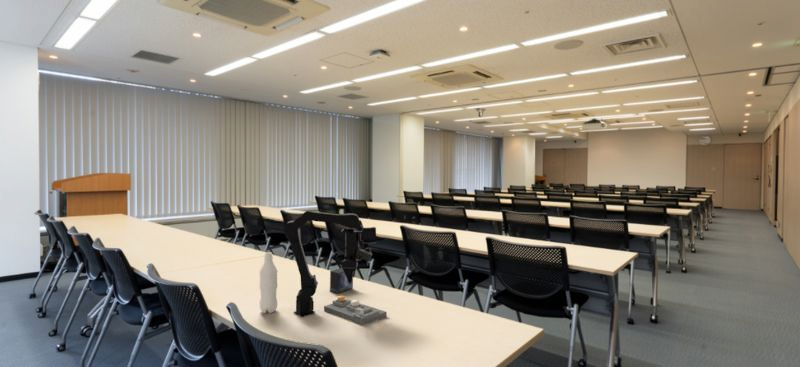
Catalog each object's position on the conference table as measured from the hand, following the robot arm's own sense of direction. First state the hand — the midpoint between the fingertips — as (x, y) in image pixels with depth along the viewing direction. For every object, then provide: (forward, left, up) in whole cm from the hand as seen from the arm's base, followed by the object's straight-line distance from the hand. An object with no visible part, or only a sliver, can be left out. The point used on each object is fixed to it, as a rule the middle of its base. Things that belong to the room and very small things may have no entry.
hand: (351, 279), depth 170 cm
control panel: (-1, -3, -14) cm, 14 cm away
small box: (+17, +27, -14) cm, 35 cm away
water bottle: (-24, +26, -14) cm, 38 cm away
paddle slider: (-6, -11, -11) cm, 17 cm away
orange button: (-1, +6, -10) cm, 12 cm away
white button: (-1, -3, -10) cm, 11 cm away
